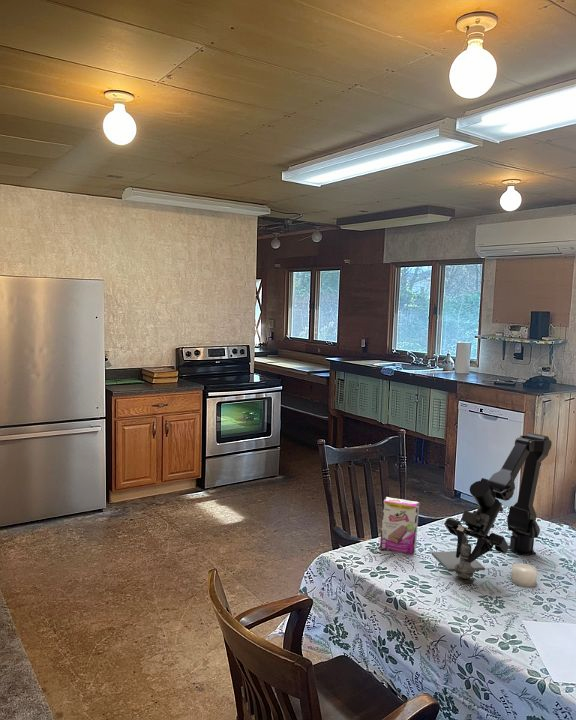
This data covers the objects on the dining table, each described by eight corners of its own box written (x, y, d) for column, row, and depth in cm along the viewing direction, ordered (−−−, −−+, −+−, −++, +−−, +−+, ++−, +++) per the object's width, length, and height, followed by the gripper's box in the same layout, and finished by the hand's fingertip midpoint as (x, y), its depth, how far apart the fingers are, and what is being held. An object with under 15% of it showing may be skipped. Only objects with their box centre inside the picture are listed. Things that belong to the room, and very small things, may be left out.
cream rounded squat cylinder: (527, 575, 177) (528, 562, 177) (541, 586, 170) (542, 573, 170) (506, 576, 176) (507, 563, 176) (519, 587, 169) (520, 574, 169)
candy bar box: (379, 549, 191) (382, 500, 189) (382, 543, 195) (385, 496, 194) (414, 555, 187) (417, 506, 185) (416, 549, 192) (419, 501, 190)
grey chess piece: (463, 586, 168) (466, 546, 167) (449, 577, 173) (452, 538, 172) (478, 582, 171) (481, 543, 169) (464, 574, 176) (467, 535, 175)
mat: (466, 552, 191) (466, 551, 191) (484, 569, 180) (484, 567, 179) (431, 553, 189) (431, 552, 189) (448, 570, 177) (448, 569, 177)
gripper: (449, 491, 179) (425, 534, 173) (507, 509, 165) (483, 557, 159) (462, 511, 185) (439, 553, 179) (518, 530, 171) (495, 577, 165)
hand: (462, 559), depth 170 cm, fingers closed on grey chess piece, 4 cm apart
